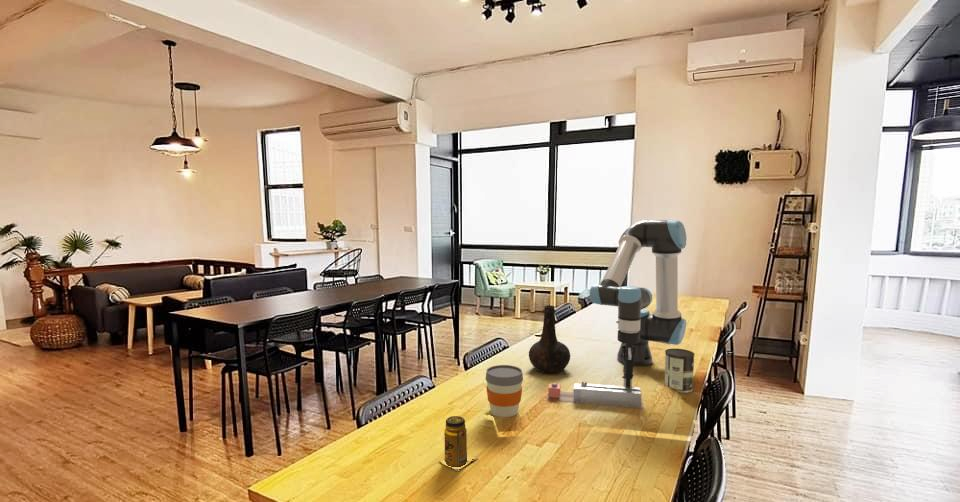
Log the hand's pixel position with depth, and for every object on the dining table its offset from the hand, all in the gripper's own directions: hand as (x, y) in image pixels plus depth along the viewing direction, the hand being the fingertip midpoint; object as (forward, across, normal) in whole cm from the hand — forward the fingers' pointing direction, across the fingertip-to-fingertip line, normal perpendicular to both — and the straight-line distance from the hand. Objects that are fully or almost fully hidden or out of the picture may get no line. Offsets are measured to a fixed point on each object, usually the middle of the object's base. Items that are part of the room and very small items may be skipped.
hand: (627, 395), depth 161 cm
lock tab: (+1, +4, -26) cm, 26 cm away
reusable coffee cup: (+3, +20, -41) cm, 46 cm away
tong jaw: (+1, +3, -6) cm, 7 cm away
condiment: (+3, +51, -48) cm, 70 cm away
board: (+3, +3, -12) cm, 12 cm away
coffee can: (+3, -18, +20) cm, 27 cm away
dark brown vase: (+3, -27, -30) cm, 41 cm away
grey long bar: (+1, +5, -7) cm, 9 cm away
